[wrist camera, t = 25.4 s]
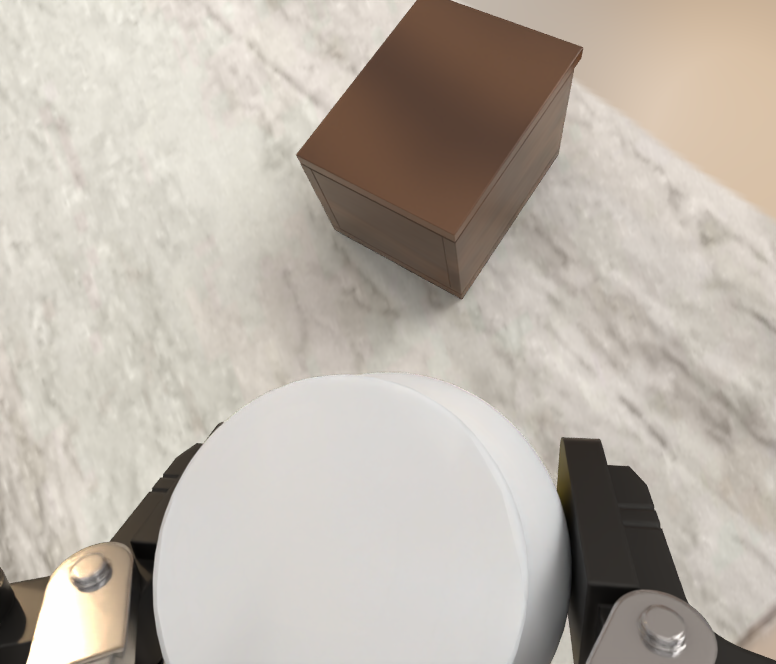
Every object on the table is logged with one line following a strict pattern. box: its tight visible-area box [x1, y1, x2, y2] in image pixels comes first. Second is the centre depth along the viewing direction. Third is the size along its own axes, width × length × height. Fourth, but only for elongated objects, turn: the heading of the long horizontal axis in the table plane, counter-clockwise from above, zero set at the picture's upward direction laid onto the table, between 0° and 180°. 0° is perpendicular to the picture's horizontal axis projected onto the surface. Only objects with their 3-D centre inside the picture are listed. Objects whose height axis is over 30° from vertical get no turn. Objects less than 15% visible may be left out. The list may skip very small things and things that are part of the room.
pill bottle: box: [153, 372, 572, 664], centre depth 12 cm, size 6×6×12 cm
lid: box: [296, 0, 583, 242], centre depth 32 cm, size 13×11×1 cm
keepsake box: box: [301, 69, 574, 299], centre depth 36 cm, size 13×11×8 cm
